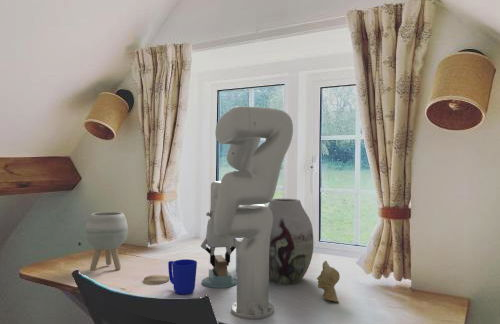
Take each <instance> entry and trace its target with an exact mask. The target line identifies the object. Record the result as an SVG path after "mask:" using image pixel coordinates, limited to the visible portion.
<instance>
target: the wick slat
mask: <svg viewBox="0 0 500 324" xmlns="http://www.w3.org/2000/svg"><path fill="white" fill-rule="evenodd" d="M214 255H215V266H214V267H213V266H212V269H214V270H215V272H216V273H217V275H218V276H227V270H228V266H227V261H226V260H225V257H224V256H223V255H222V254H218V255H217V254H214Z"/></svg>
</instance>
